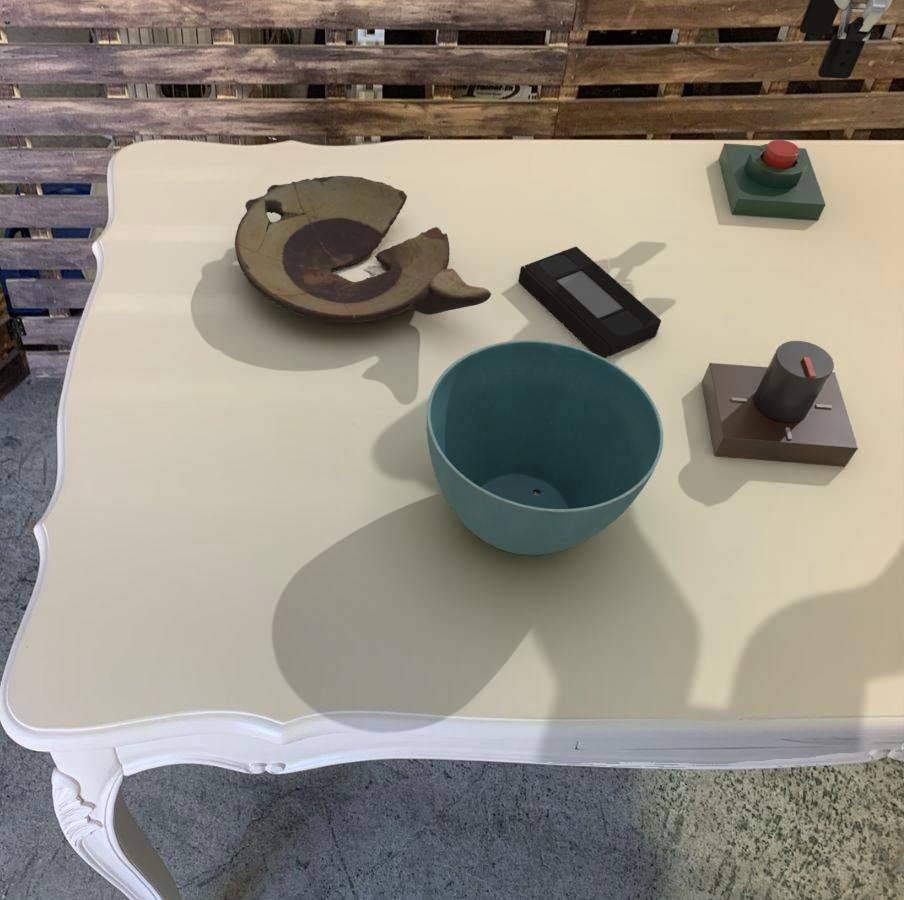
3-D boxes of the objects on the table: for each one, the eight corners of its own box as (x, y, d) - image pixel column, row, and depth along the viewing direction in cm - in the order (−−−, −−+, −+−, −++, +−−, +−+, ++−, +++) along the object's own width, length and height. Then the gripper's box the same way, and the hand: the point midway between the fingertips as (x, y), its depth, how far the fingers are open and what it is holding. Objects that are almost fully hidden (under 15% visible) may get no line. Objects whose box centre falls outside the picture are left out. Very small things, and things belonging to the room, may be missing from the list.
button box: (799, 164, 113) (812, 134, 110) (817, 221, 106) (832, 190, 103) (718, 159, 113) (729, 129, 110) (731, 215, 106) (743, 184, 103)
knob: (748, 383, 86) (771, 336, 81) (801, 385, 86) (827, 338, 81) (760, 421, 83) (784, 375, 78) (814, 423, 83) (842, 377, 78)
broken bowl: (376, 192, 108) (377, 132, 102) (517, 340, 93) (529, 279, 87) (204, 246, 102) (194, 184, 96) (325, 414, 86) (323, 354, 80)
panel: (824, 390, 89) (835, 370, 87) (846, 466, 83) (859, 447, 81) (701, 381, 90) (710, 361, 87) (714, 456, 84) (723, 436, 82)
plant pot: (564, 419, 86) (591, 318, 76) (664, 566, 76) (711, 471, 66) (387, 468, 82) (392, 368, 73) (469, 629, 72) (487, 539, 62)
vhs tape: (572, 261, 101) (576, 246, 99) (657, 336, 94) (662, 321, 92) (518, 282, 99) (520, 266, 97) (600, 360, 91) (604, 345, 90)
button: (790, 154, 108) (796, 140, 106) (795, 171, 106) (801, 157, 104) (759, 152, 108) (765, 138, 106) (764, 169, 106) (770, 155, 104)
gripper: (973, -100, 77) (878, 97, 91) (917, -168, 87) (840, 18, 101) (883, -105, 77) (803, 93, 91) (839, -172, 88) (772, 15, 101)
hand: (822, 54), depth 96 cm, fingers open, 9 cm apart
